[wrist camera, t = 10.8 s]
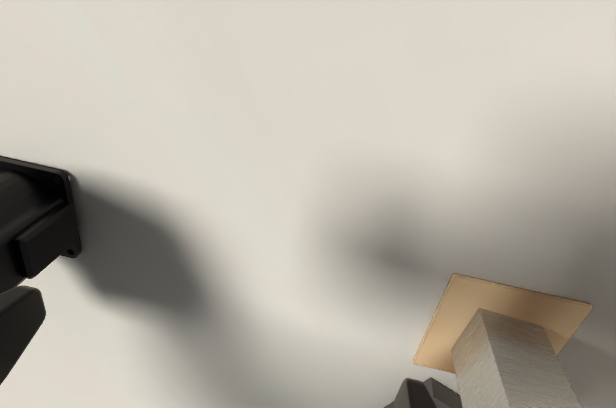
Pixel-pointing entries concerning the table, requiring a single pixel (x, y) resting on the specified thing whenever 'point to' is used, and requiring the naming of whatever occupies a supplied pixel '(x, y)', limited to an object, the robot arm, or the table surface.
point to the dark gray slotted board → (440, 395)
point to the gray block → (509, 365)
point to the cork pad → (501, 299)
